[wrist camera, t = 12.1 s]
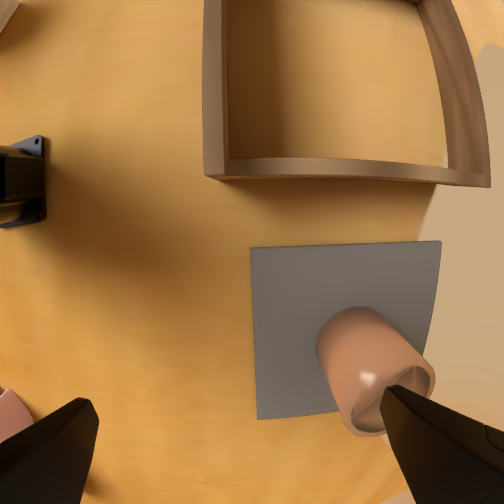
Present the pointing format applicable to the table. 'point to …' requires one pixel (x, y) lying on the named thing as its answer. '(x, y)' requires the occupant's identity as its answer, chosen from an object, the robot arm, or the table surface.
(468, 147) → the frame
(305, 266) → the mat
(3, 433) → the lavender two-hole holder
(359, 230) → the table surface
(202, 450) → the table surface
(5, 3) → the supplement box
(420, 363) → the terracotta pot
